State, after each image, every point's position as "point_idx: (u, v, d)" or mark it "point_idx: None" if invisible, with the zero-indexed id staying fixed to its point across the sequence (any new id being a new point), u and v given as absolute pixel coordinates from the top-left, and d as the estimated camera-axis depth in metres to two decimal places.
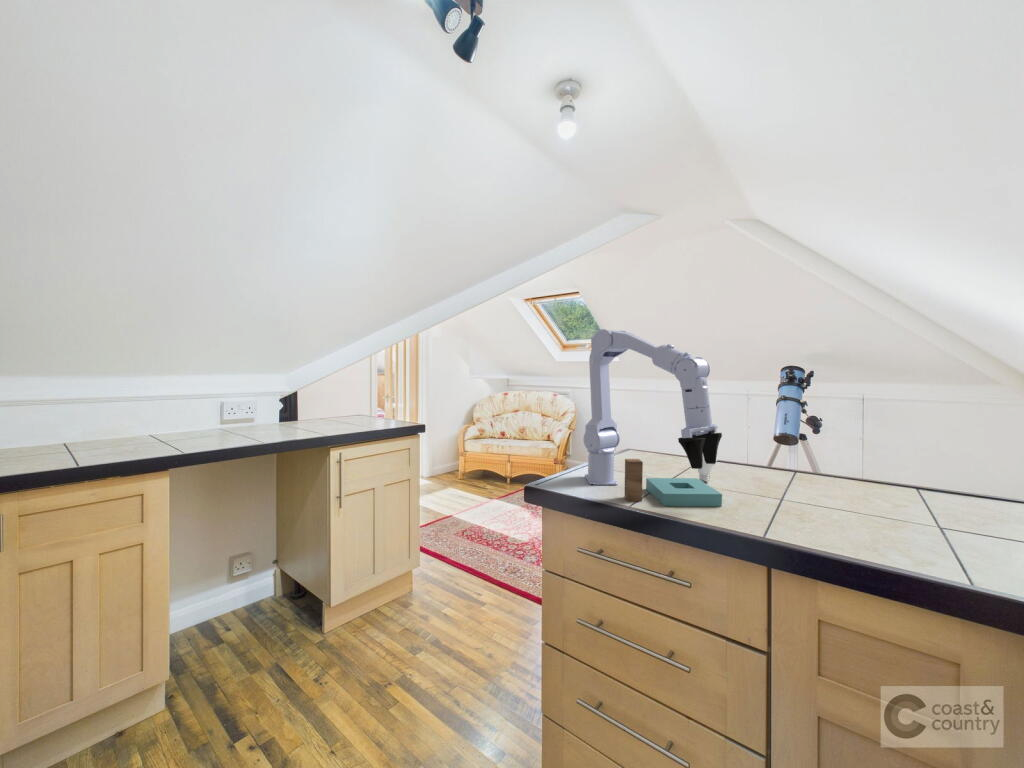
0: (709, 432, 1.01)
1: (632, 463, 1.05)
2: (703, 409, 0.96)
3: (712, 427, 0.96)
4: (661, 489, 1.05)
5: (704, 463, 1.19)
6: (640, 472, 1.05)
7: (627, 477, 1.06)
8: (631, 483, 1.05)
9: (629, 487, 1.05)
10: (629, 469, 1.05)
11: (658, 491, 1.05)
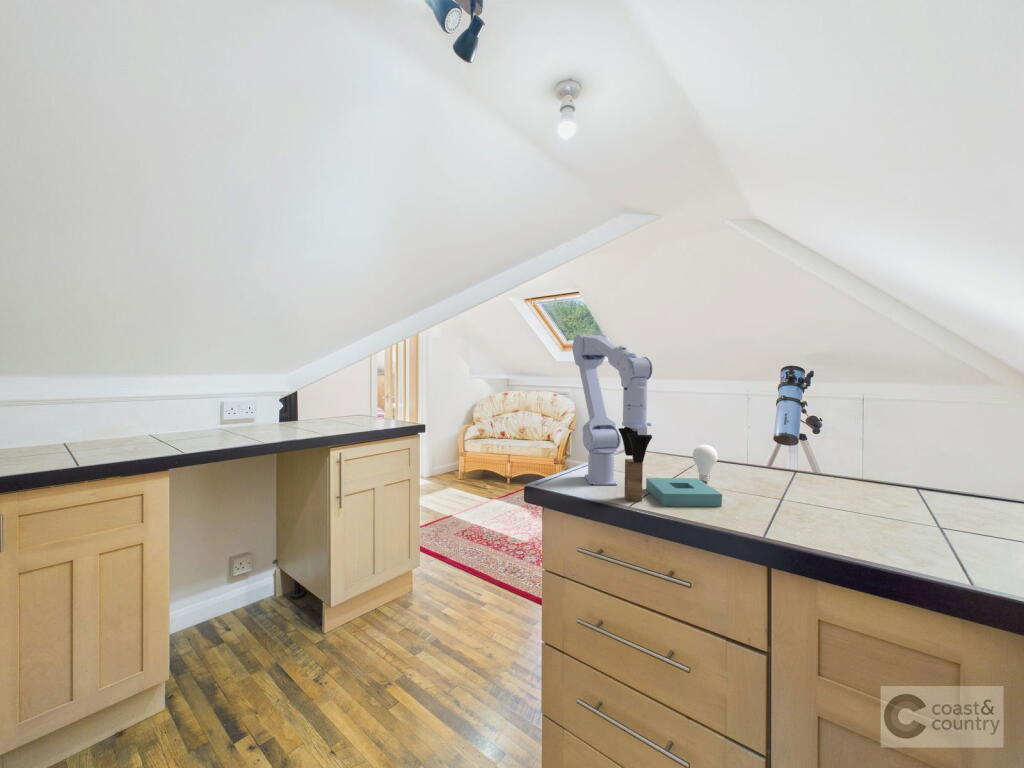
0: None
1: (632, 463, 1.05)
2: (645, 407, 1.04)
3: (649, 424, 1.05)
4: (661, 489, 1.05)
5: (704, 463, 1.19)
6: (640, 472, 1.05)
7: (627, 477, 1.06)
8: (631, 483, 1.05)
9: (629, 487, 1.05)
10: (629, 469, 1.05)
11: (658, 491, 1.05)
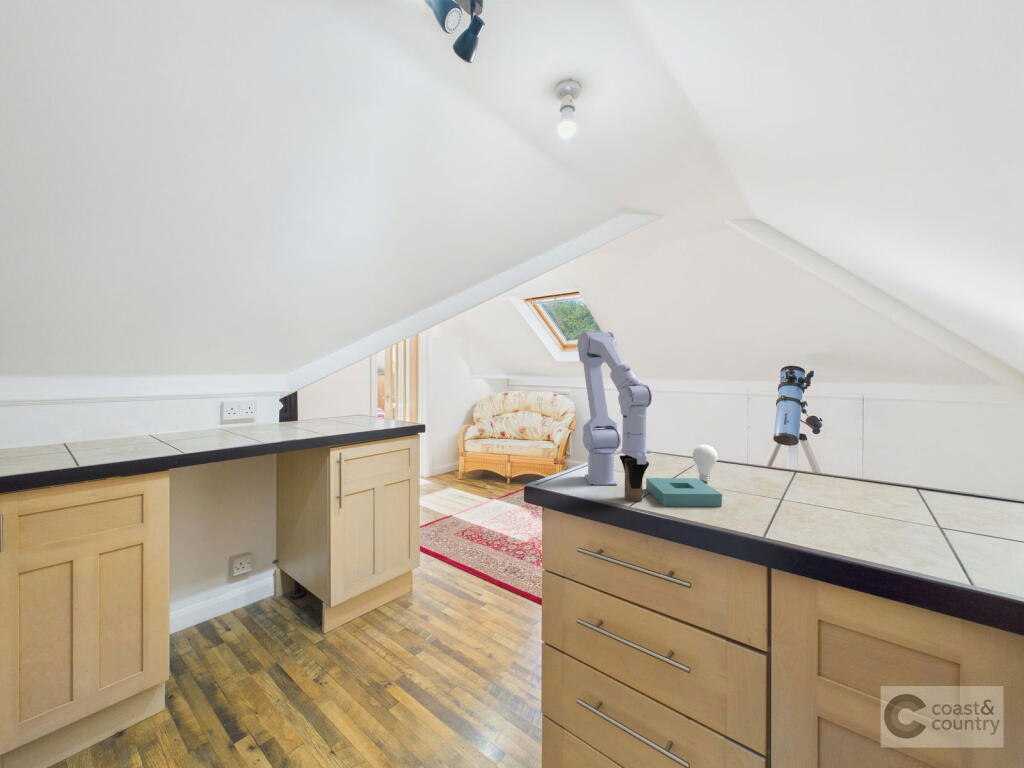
0: None
1: None
2: (645, 435, 1.04)
3: (648, 452, 1.05)
4: (661, 489, 1.05)
5: (704, 463, 1.19)
6: None
7: (627, 477, 1.06)
8: None
9: (629, 487, 1.05)
10: None
11: (658, 491, 1.05)
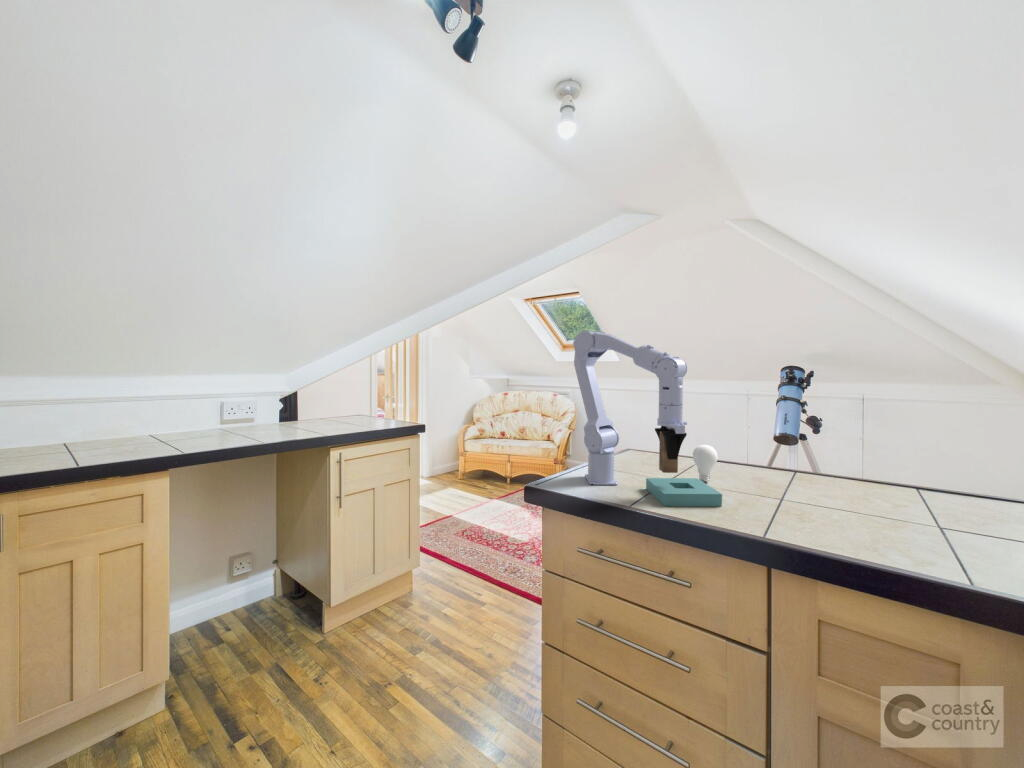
0: None
1: None
2: (681, 406, 1.05)
3: (685, 423, 1.06)
4: (661, 489, 1.05)
5: (704, 463, 1.19)
6: None
7: (662, 449, 1.07)
8: None
9: (665, 458, 1.06)
10: None
11: (658, 491, 1.05)
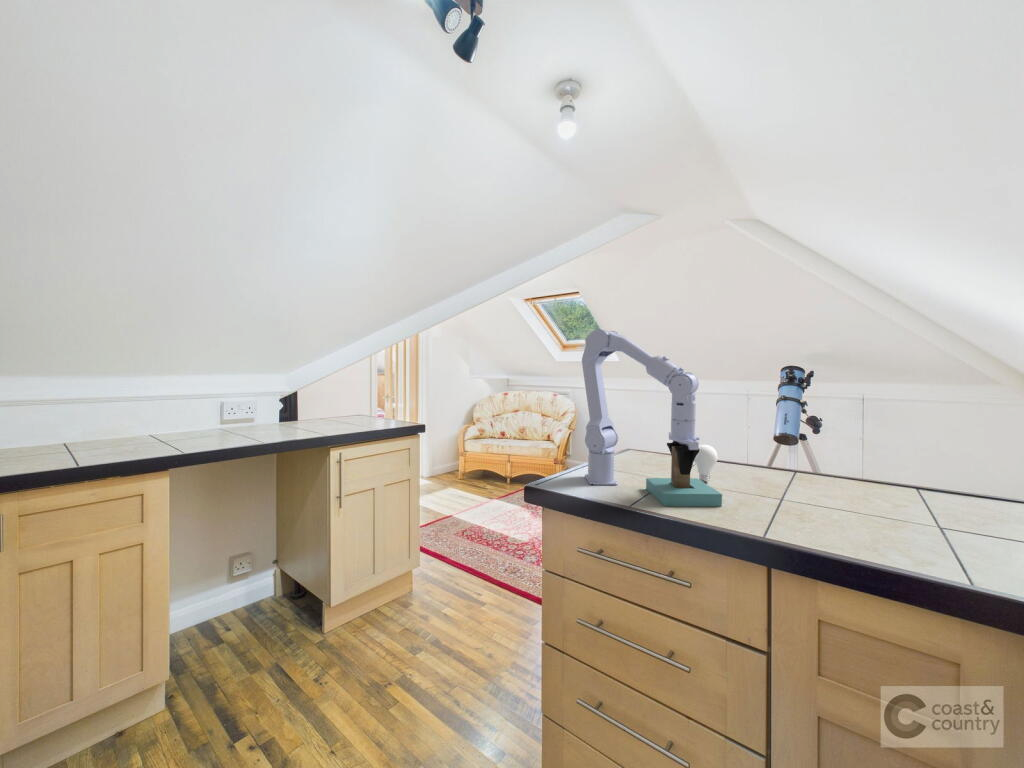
0: None
1: None
2: (694, 422, 1.06)
3: (698, 438, 1.07)
4: (661, 489, 1.05)
5: (704, 463, 1.19)
6: None
7: (675, 464, 1.07)
8: (679, 469, 1.06)
9: (677, 474, 1.07)
10: (677, 456, 1.06)
11: (658, 491, 1.05)
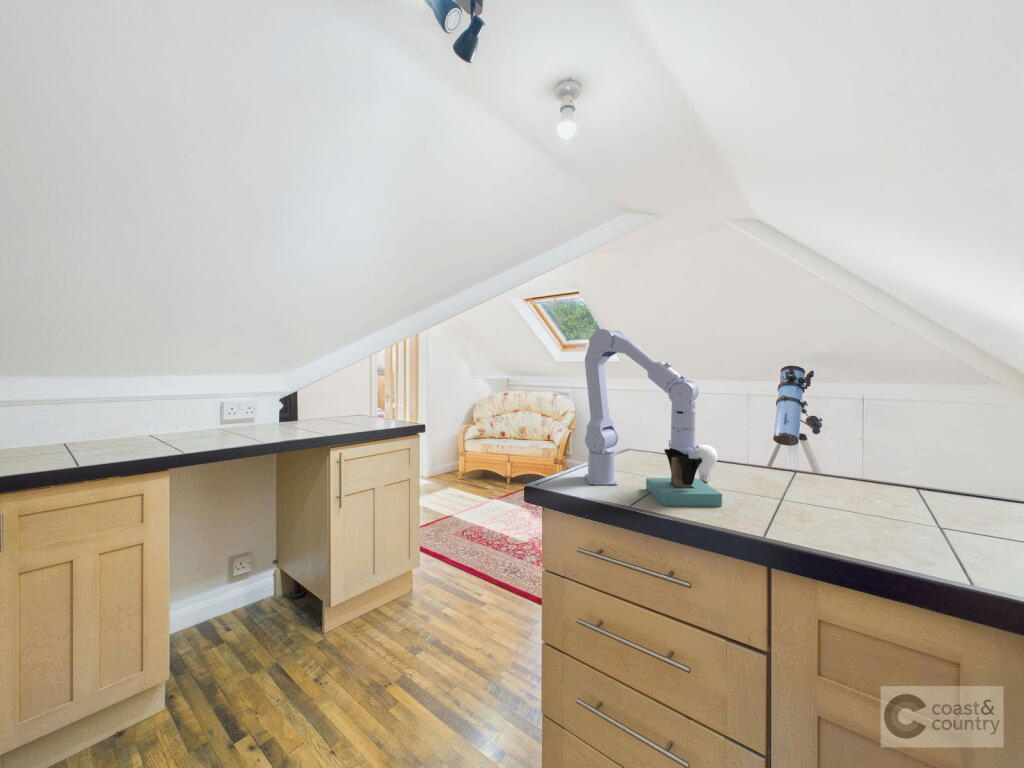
0: None
1: None
2: (694, 430, 1.06)
3: (697, 446, 1.07)
4: (661, 489, 1.05)
5: (704, 463, 1.19)
6: None
7: (675, 475, 1.07)
8: (679, 481, 1.07)
9: (677, 485, 1.07)
10: (677, 467, 1.06)
11: (658, 491, 1.05)
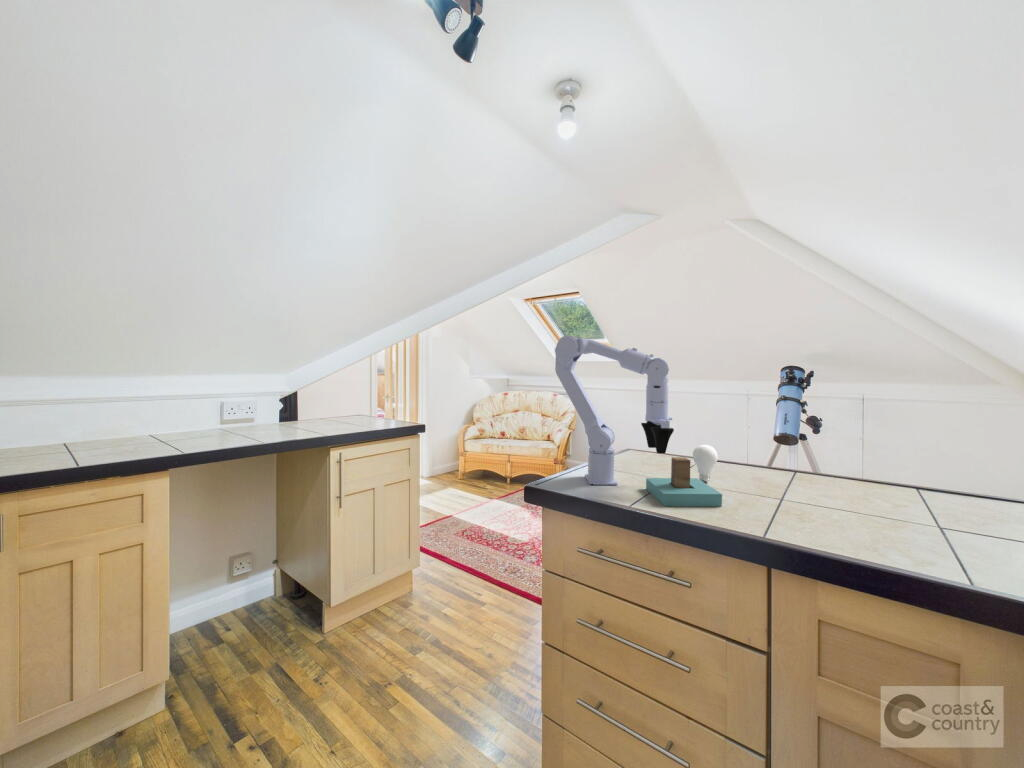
0: None
1: (680, 461, 1.06)
2: (667, 403, 1.15)
3: (670, 418, 1.15)
4: (661, 489, 1.05)
5: (704, 463, 1.19)
6: (688, 470, 1.06)
7: (675, 475, 1.07)
8: (679, 481, 1.07)
9: (677, 485, 1.07)
10: (677, 467, 1.06)
11: (658, 491, 1.05)
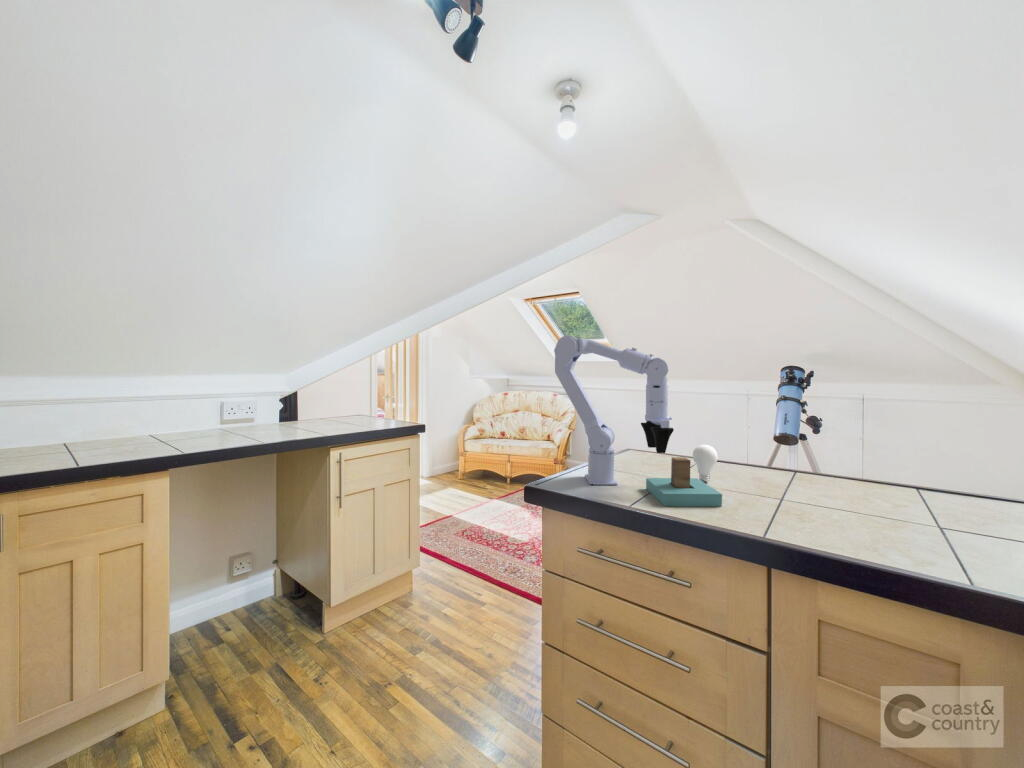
0: None
1: (680, 461, 1.06)
2: (666, 403, 1.15)
3: (670, 418, 1.16)
4: (661, 489, 1.05)
5: (704, 463, 1.19)
6: (688, 470, 1.06)
7: (675, 475, 1.07)
8: (679, 481, 1.07)
9: (677, 485, 1.07)
10: (677, 467, 1.07)
11: (658, 491, 1.05)
